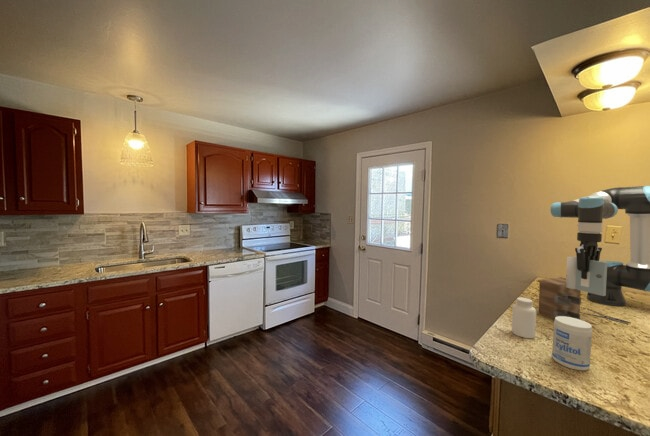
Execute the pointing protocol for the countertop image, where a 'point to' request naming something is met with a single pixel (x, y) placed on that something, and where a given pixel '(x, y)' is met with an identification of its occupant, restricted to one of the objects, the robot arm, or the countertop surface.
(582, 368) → the supplement tub
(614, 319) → the pliers
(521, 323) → the pill bottle
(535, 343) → the countertop surface
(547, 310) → the cabinet
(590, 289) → the door
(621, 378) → the countertop surface
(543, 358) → the countertop surface
